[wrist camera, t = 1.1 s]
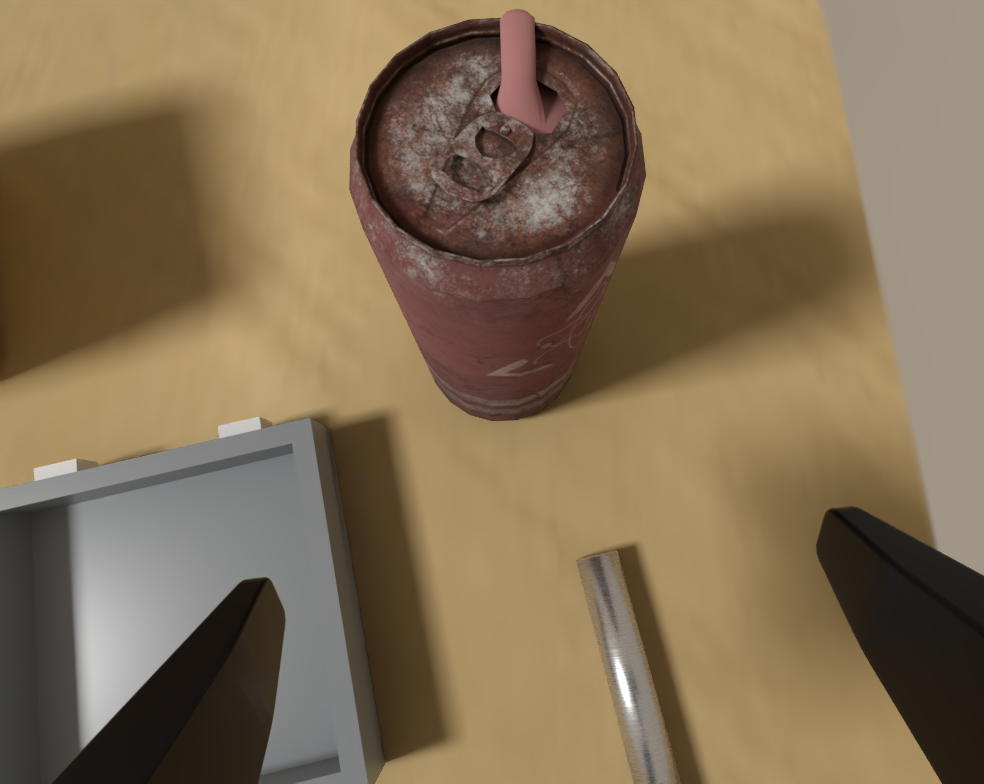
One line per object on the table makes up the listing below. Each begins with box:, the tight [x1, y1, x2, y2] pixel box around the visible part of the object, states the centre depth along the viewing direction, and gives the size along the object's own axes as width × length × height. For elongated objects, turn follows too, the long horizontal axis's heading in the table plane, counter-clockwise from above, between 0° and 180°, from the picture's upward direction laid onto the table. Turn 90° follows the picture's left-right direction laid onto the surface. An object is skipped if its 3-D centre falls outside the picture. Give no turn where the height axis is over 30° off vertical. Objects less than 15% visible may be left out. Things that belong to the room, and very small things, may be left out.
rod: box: [576, 550, 682, 784], centre depth 21 cm, size 10×2×2 cm
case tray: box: [0, 417, 385, 784], centre depth 21 cm, size 13×13×2 cm
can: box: [349, 9, 646, 421], centre depth 18 cm, size 6×6×14 cm
